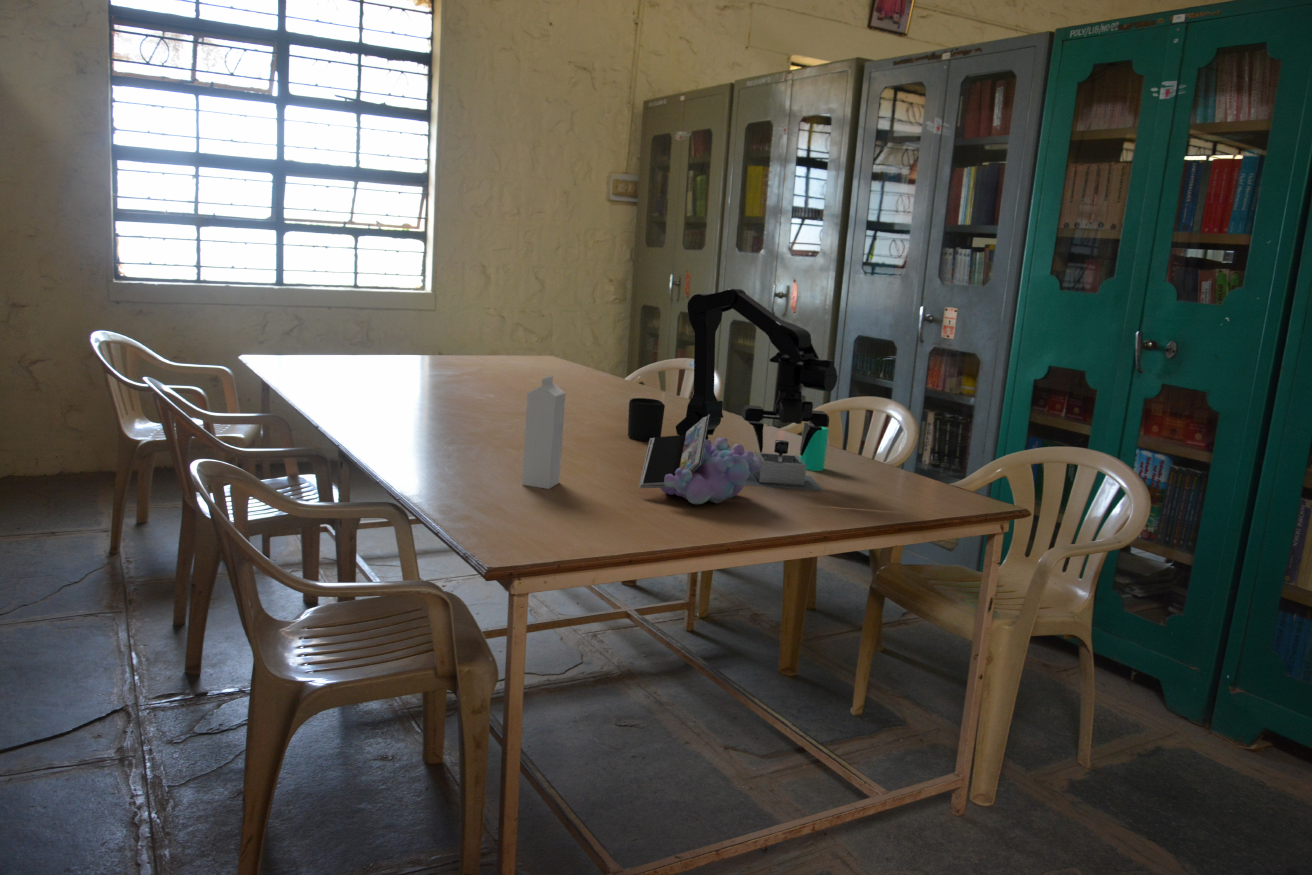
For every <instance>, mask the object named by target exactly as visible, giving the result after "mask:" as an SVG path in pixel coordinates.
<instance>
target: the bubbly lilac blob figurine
mask: <svg viewBox="0 0 1312 875" xmlns="http://www.w3.org/2000/svg"><path fill="white" fill-rule="evenodd" d="M709 417H710V414H709V415H708V416H707V417H704V418H702V419H701V420H700V421H699V422H698V423H697V424H696V425H694V426H693V427H692V428H691V429H689V430H688V431H687V433H686V436H683V435H670V436H668V435H667V436H661V437H655V438H650V441H648V446H647V450H646V453H645V459H644V463H643V468H642V471H641V475H640V480H639V484H638V489H655V488H656V489H659V488H660V491H662V492H663V493H664V494H667V495H669V496H672V495H676V496H677V497H683V498H684V499H685V500H687V501H688V502H689V503H691V504H693V505H702V504H705V503H706V502H708V501H709V502H712V503H714V504H720V503H722V502H723V501H725V499H731V498H734V497H735V496H737V495H739V493H741V491H742V490H743V489H744V487H746V485H745V484H746V482H745V480H746V479H747V478H748V477H749V475H750V473H755V472H757V471H758V470H760V468H761V467H762V463H761V461H760V460H759V459H758V458H756V457H754V456H755V452H752V451H751V450H746V451H745V447H744V446H743V445H742V444H741V443H735V444H733V446H732V448H731V445H730V444H729V443H728V439H729V438H727V437H718V438H716V440H715V442H714V443H713V444H712V440H711V439H709V438H708V439H707V440H706V434H707V429H708V423H709Z"/></svg>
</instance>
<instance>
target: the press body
mask: <svg viewBox="0 0 1312 875" xmlns="http://www.w3.org/2000/svg"><path fill="white" fill-rule="evenodd" d="M778 456H779V453H769V452H768V453H767V452H762V453H760V452H757V451H756V452H754V457H756V458H758V459H759V460H760V461H761V463H762V467H761V468H760V470H758V471H757V472H755V473H753V475H754V476H755V478H756V480H757V481H758V483H759V484H767V485H781V486H795V487H804V483H805V475H806V473H807V470H806V466H807V465H806V464H805V463H804V462H803V461H802V460H801V458H800V455H797V454H796V455H795V454H783V456H782V462H778Z"/></svg>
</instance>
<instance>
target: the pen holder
mask: <svg viewBox="0 0 1312 875" xmlns="http://www.w3.org/2000/svg"><path fill="white" fill-rule="evenodd" d="M665 406H666V405H665V404H664V402H662V401H661V400H659V399H655V398H647V397H646V398H644V397H634V398H631V399H630V400H629V401H628V419H627V420H628V421H627V423H628V424H627V436H628V438H630V439H631V440H634V441H639V442H649V441H650V438H655V437H662V429H663V422H664V417H665V416H664V414H665Z"/></svg>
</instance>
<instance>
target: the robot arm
mask: <svg viewBox="0 0 1312 875" xmlns="http://www.w3.org/2000/svg"><path fill="white" fill-rule="evenodd" d="M686 307H687V314H688V315H687V316H688V321H689V324H690V325H691V328H692V330H693V334H694V339H693V340H694V343H693V344H694V346H693V349H694V350H693V351H694V352H693V354H694V355H693V392H692V396H691V397H690V399H689V401H688V404H687V407H686V408H687V409H686V414H685V417H684V418H683V419H682V420H681V421H680V422H679V423H677V424H676V425H675V430H676V436H678V435H683V436H686V433H687V431H688V430H689V429H691V428H692V427H693V426H694V425H696V424H697V423H698V422H699V421H700V420H701V419H702V418H704V417H707V416H708V415H709V414H710V417H709V423H708V429H707V434H706V440H707V439H709V436H713V435H714V433H715V431H716V429H717V427H718V426H719V425H720V424H721V422H722V419H723V418H724V414H723V407H724V401H723V400H718V399H717V396H716V395H715V374H716V373H715V369H716V368H715V367H716V365H715V364H716V363H715V362H716V360H715V358H716V332H717V330H718V328H719V326H720V324H721V322H722V318H723V313H726V312H728V311H729V312H730V311H731V310H734V311H735V312H737V313H738V314H739V315H741V316H742V317H744V318H745V319H746V320H748V321H749V322H750V323H751V324H752V325H754V326H755V327H757V328H758V329H760V330H761V331H762V332H763V333H765V335H766V336H767V338H768V339H769V340H770V343H771V344H772V345H773V346H774V348H776V350H777V352H776V354H775V355H774V356H772V357H770V359H769V363H775V364H777V371H776V379H775V388H774V397H773V398H774V399H773V406H772V410H767V409H764V408H763V407H762V406H760V405H750V404H745V405H744V406H743V407H742V412H741V418H742V419H743V421H747V423H748V424H749V425H750V426H752V428H753V429H754V433H755V436H756V437H755V438H756V441H757V445H758V451H759V453H763V448H764V435H763V434H764V426H765V424H764V422H763V419H767V420H779V421H780V422H781V423H783V424H787V423H793V424H795V425H800V424H802V422H803V423H804V424H803V427H804V429H803V428H802V436H801V443H800V447H799V448H800V449H799V456H800V455H801V456H802V455H803V454H804V452H805V450H806V447H807V445H808V443H809V441H810V439H811V438H812V436H813V435H814V434H815V433H816V432H817V431H818V430H822V427H825V428H829V424H830V416H829V415H828V413H826V412H825V411H823V410H813V408H814V404H813V401H807V400H804V401H802V389H803V388H802V387H804V389H811V390H816V391H820V392H821V391H822V392H828V393H830V392H832V391H833V390H834V389H835V387H836V385H837V382H838V376H839V375H837V374H838V372H837V368H836V367H835V361H834V360H833V359H822V358H820V357H819V356H818V353H817V351H816V349H815V348H814V345H813V343H812V339H811V338H812V336H811V333H810V332H809V331H808V330H807V329H805V328H803V327H801V326H799V325H796V324H794V323H791V322H788V321H786V320H784V319H781V318H780V317H779V316H777V315H775V314H774V313H773V312H771V311H770V310H768V308H766V307H765V306H763V305H762V304H760V303H759V302H758V301H756V300H755V299H753V297H751V296H749V295H748V294H747V293H746V291H744V290H743V289H742V288H741V289H740V288H728V289H726V290H722V291H718V292H714V293H709V294H706V293H705V294H704V293H697V294H694V295H693V296H691V297H690V299H688V301H687V306H686Z"/></svg>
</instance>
